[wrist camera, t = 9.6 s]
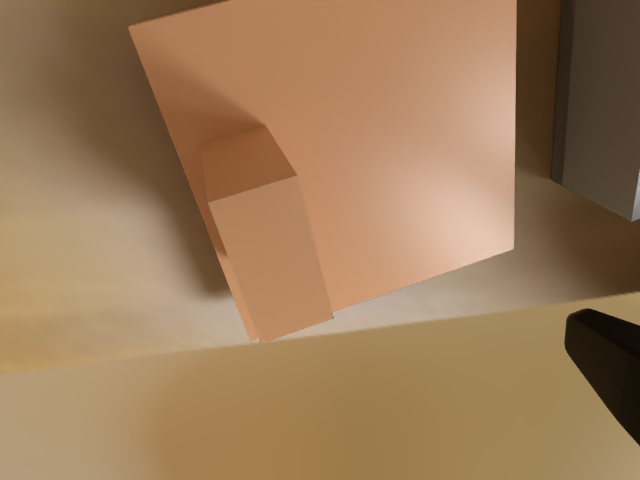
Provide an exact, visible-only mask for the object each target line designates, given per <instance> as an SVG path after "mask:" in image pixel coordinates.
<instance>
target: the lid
mask: <svg viewBox="0 0 640 480" xmlns="http://www.w3.org/2000/svg"><path fill="white" fill-rule="evenodd" d="M516 13H517V0H223V1H220V2H216V3H212V4H208V5H204V6H200V7H196V8H192V9H188V10H184V11H180V12H176V13H173V14H169V15H165V16H161V17H157V18H153V19H149V20H145V21H141V22H137V23H133V24H130V25H129V26H128V29H129V32H130V35H131V37H132V40H133V42H134V45H135V47H136V50H137V52H138V55H139V58H140V60H141V63H142V65H143V68H144V70H145V73H146V75H147V78H148V81H149V83H150V86H151V88H152V91H153V93H154V96H155V98H156V101H157V104H158V106H159V109H160V111H161V114H162V116H163V119H164V121H165V124H166V127H167V129H168V132H169V134H170V137H171V139H172V142H173V144H174V147H175V150H176V152H177V155H178V157H179V160H180V162H181V165H182V167H183V170H184V173H185V175H186V178H187V180H188V183H189V185H190V188H191V190H192V193H193V196H194V198H195V201H196V203H197V206H198V208H199V211H200V213H201V216H202V219H203V221H204V224H205V226H206V229H207V231H208V234H209V236H210V239H211V242H212V244H213V247H214V249H215V252H216V254H217V257H218V259H219V262H220V265H221V267H222V270H223V272H224V275H225V277H226V280H227V282H228V285H229V288H230V290H231V293H232V295H233V298H234V300H235V303H236V305H237V308H238V311H239V313H240V316H241V318H242V321H243V323H244V326H245V328H246V331H247V334H248V336H249V339H250V341H251V340H254V339H257V338H259V340H260V343H264V342H267V341H270V340H273V339H276V338H279V337H281V336H284V335H287V334H290V333H293V332H296V331H299V330H301V329H304V328H307V327H310V326H313V325H316V324H319V323H321V322H324V321H327V320H330V319H333V318H334V317H333V313H332V312H335V311H337V310H340V309H343V308H346V307H349V306H352V305H355V304H358V303H360V302H363V301H366V300H369V299H372V298H375V297H378V296H381V295H383V294H386V293H389V292H392V291H395V290H398V289H401V288H404V287H406V286H409V285H412V284H415V283H418V282H421V281H424V280H427V279H429V278H432V277H435V276H438V275H441V274H444V273H447V272H450V271H452V270H455V269H458V268H461V267H464V266H467V265H470V264H473V263H475V262H478V261H481V260H484V259H487V258H490V257H493V256H496V255H498V254H501V253H504V252H507V251H510V250H513V249H514V196H515V104H516Z"/></svg>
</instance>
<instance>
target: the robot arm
mask: <svg viewBox="0 0 640 480" xmlns="http://www.w3.org/2000/svg"><path fill="white" fill-rule="evenodd" d="M564 343H565V348H566V351H567V353H568V355H569V356H570V357H571V359H572V360H573V362H574V363H575V364H576V366H577V367H578V368H579V370H580V371H581V373H582V374H583V375H584V377H585V378H586V379H587V381H588V382H589V384H590V385H591V386H592V388H593V389H594V390H595V391H596V393H597V394H598V396H599V397H600V398H601V400H602V401H603V403H604V404H605V405H606V407H607V408H608V409H609V411H610V412H611V413H612V414H613V416H614V417H615V418H616V420H617V421H618V422H619V423H620V424H621V425H622V427H623V428H624V429H625V430H626V431H627V432H628V433H629V434H630V436H631V437H632V438H633V439H634V440H635V441H636V442H637V443H638V445H639V446H640V326H639V325H636V324H633V323H631V322H627V321H625V320H622V319H619V318H616V317H613V316H610V315H607V314H605V313H602V312H598V311H596V310H592V309H582V310H580V311H577V312H574V313H571V314H570V315H569V316H568V317H567V320H566V330H565V341H564Z"/></svg>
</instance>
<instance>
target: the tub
mask: <svg viewBox="0 0 640 480" xmlns="http://www.w3.org/2000/svg"><path fill="white" fill-rule="evenodd" d="M551 180H553V181H555V182H557V183H558V184H560V185H562V186H564V187H566V188H568V189H570V190H572V191H574V192H576V193H577V194H579V195H581V196H583V197H585V198H587V199H589V200H591V201H593V202H594V203H596V204H598V205H600V206H602V207H604V208H606V209H608V210H610V211H611V212H613V213H615V214H617V215H619V216H621V217H623V218H625V219H627V220H628V221H630V222H633V221H635V220H638V219H640V0H562V5H561V23H560V40H559V57H558V75H557V92H556V110H555V127H554V144H553V162H552V179H551Z"/></svg>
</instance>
